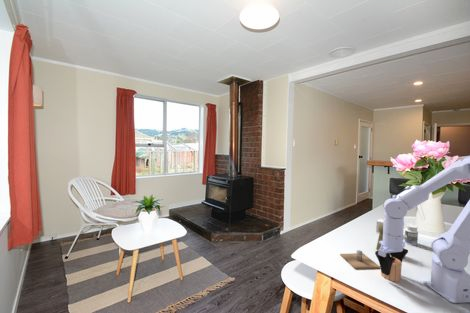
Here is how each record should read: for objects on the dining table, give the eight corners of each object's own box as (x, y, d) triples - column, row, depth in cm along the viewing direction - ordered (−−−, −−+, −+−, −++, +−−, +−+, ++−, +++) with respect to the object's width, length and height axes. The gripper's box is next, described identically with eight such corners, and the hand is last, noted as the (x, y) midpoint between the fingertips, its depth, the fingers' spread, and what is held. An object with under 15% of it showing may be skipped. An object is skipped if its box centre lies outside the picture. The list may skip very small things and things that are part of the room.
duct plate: (380, 268, 81) (380, 257, 81) (354, 269, 81) (355, 258, 80) (362, 254, 91) (363, 245, 91) (340, 255, 91) (340, 245, 90)
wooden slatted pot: (404, 281, 74) (405, 264, 73) (389, 281, 73) (390, 264, 73) (391, 271, 79) (392, 255, 79) (377, 271, 79) (378, 256, 79)
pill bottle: (404, 239, 106) (405, 223, 105) (417, 242, 103) (418, 225, 102) (404, 243, 102) (405, 226, 101) (417, 246, 99) (418, 228, 98)
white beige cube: (376, 232, 115) (376, 221, 115) (378, 229, 119) (379, 218, 119) (389, 235, 111) (390, 224, 110) (392, 232, 115) (392, 221, 115)
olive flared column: (395, 254, 92) (397, 229, 91) (379, 253, 93) (381, 228, 92) (388, 247, 97) (389, 224, 97) (373, 246, 99) (375, 223, 98)
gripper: (390, 225, 83) (388, 259, 83) (369, 233, 75) (367, 270, 76) (412, 232, 76) (410, 268, 77) (392, 241, 69) (390, 281, 70)
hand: (390, 270), depth 76 cm, fingers open, 7 cm apart
